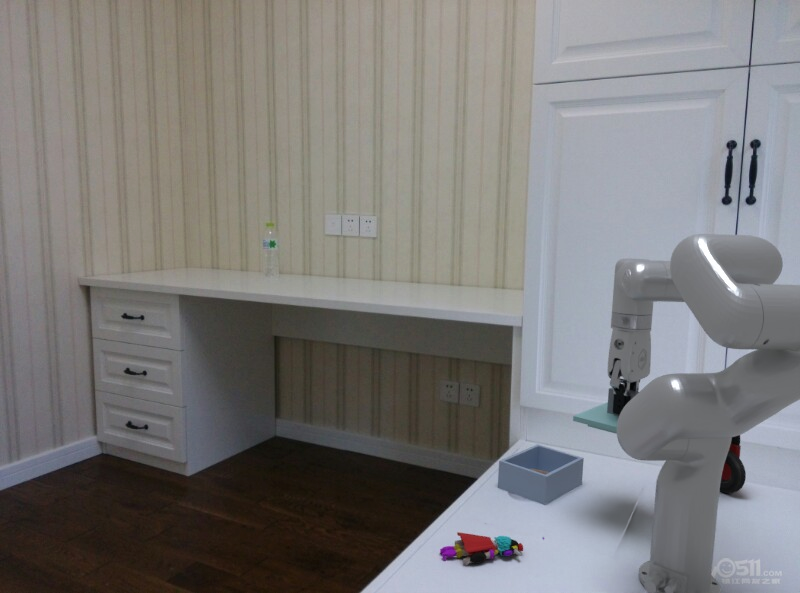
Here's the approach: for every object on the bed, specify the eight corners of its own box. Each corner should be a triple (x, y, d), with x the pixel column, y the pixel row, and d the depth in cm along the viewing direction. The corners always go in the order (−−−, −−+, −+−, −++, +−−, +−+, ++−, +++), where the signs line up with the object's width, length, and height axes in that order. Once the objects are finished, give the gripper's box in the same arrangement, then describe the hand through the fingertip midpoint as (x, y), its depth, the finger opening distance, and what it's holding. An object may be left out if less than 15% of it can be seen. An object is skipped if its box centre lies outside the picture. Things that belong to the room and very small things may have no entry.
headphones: (713, 481, 155) (720, 399, 152) (750, 498, 146) (759, 411, 143) (657, 492, 147) (664, 406, 145) (693, 510, 138) (701, 419, 136)
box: (544, 508, 137) (546, 476, 136) (497, 491, 145) (499, 460, 144) (581, 487, 148) (583, 458, 148) (536, 472, 157) (537, 444, 156)
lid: (636, 442, 119) (639, 405, 119) (572, 425, 128) (575, 391, 127) (672, 423, 132) (675, 390, 131) (611, 409, 141) (613, 377, 140)
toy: (445, 570, 112) (528, 565, 114) (446, 548, 112) (530, 544, 114) (436, 547, 120) (515, 544, 122) (437, 527, 119) (516, 524, 121)
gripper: (632, 328, 119) (624, 425, 121) (666, 320, 131) (659, 409, 133) (594, 323, 124) (587, 416, 126) (630, 315, 136) (623, 401, 138)
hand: (624, 412), depth 130 cm, fingers closed on lid, 2 cm apart
